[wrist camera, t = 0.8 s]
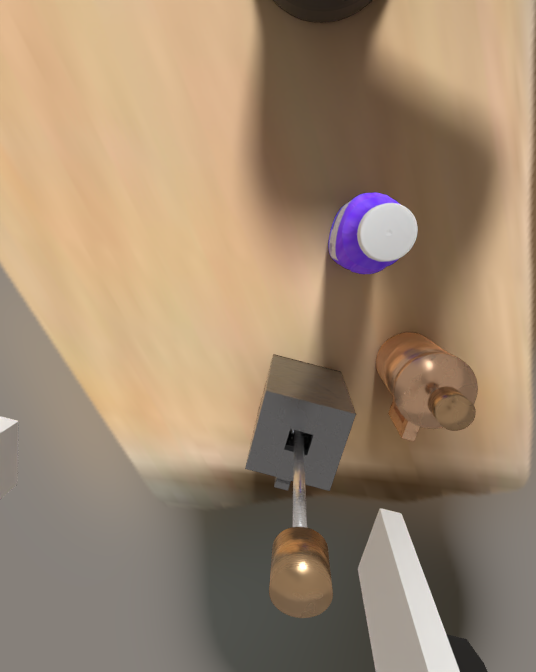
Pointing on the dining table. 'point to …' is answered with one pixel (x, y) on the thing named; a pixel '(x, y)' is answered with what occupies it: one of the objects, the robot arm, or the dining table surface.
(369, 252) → the bottle
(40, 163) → the dining table surface
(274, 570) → the plunger tall
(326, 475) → the cube with square hole
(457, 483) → the dining table surface
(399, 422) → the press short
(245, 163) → the dining table surface
